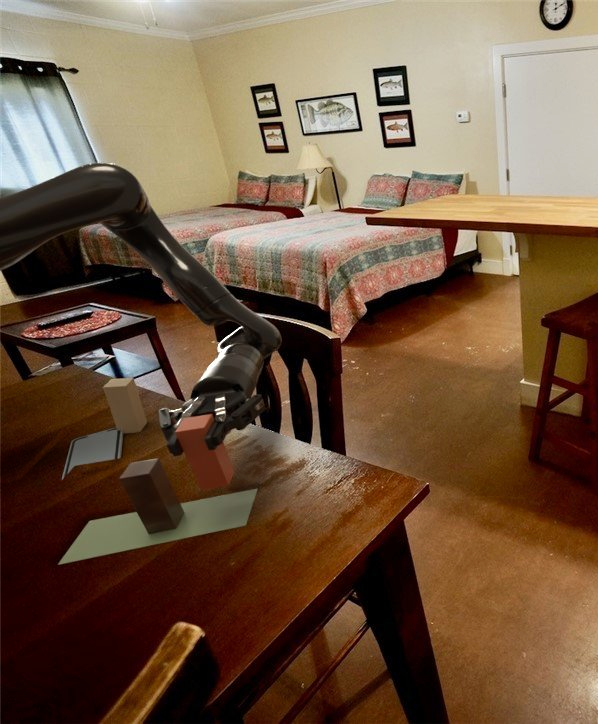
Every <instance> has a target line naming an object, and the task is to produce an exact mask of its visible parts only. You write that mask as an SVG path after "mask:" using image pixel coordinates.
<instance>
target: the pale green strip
mask: <svg viewBox="0 0 598 724" xmlns="http://www.w3.org/2000/svg"><path fill="white" fill-rule="evenodd" d="M258 490H259V488H254V489H253V488H252V489H248V490H244V491H239V492H233V493H228V494H222V495H218V496H211V497H206V498H202V499H196V500H191V501H187V502H180V504H181V506H182V508H183V510H184V514H183V516H182V518H181V520H180V522H179V524H178V526H177V528H176V529H172V530H167V531H162V532H157V533H152V534H148V533H147V531H146V529H145V527H144V525H143V523H142V521H141V519H140V518H139V516H138V514H137V512H136V511H133V512H129V513H124V514H119V515H113V516H108V517H102V518H98V519H93V520H89V521H88V523H86V525H85V526H84V527H83V529H82V531H81V532H80V533H79V535H78V536H77V538H75V540H74V541H73V542H72V544H71V545H70V547H69V548H68V549H67V551H66V553H65V554H64V555H63V556H62V558H61V559H60V561H59V562H58V564H57V565H58V566H60V565H63V564H69V563H73V562H80V561H83V560H89V559H93V558H98V557H102V556H107V555H111V554H116V553H121V552H126V551H130V550H136V549H140V548H145V547H150V546H155V545H159V544H164V543H169V542H174V541H179V540H184V539H188V538H192V537H198V536H203V535H206V534H207V535H208V534H211V533H217V532H221V531H226V530H231V529H237V528H241V527H246V526H247V524H248V522H249V517H250V514H251V512H252V509H253V505H254V502H255V499H256V496H257V494H258Z"/></svg>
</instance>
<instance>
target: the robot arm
mask: <svg viewBox="0 0 598 724" xmlns="http://www.w3.org/2000/svg"><path fill="white" fill-rule="evenodd" d="M95 224H100V225H101V226H103V227H104V228H105V229H107V230H108V231H109V232H111V233H112V234H113V235H115V236H116V237H117V238H119V239H120V240H121V241H122V242H124V243H125V244H126V245H127V246H128V247H130V249H132V250H133V251H134V252H135V253H137V255H139V256H140V258H141V259H143V260H144V261H145V263H147V264H148V265H149V266H150V268H151V269H152V270H153V271H154V273H156V274H157V276H158V277H159V278H160V279H161V280H162V281H163V283H164V284H165V286H167V287H168V288H169V290H170V291H171V292H172V293H173V295H175V296H176V297H177V298H178V300H179V301H180V302H181V303H182V304H183V305H184V306H185V307H186V308H187V309H188V310H189V311H190V312H191V313H192V314H193V315H194V316H195V317H196V318H197V320H199V321H200V322H201V323H202V324H203V325H204V326H206V327H209V328H214V327H217V326H219V325H222V324H224V323H227V322H234V323H236V324H238V325H239V326H240V327H238V328H237V329H236V330H234V331H233V332H232V333H230V334H229V335H227V336H226V337H225V338H223V339H222V340H221V341H220V342H219V344H218V345H217V348H216V357H215V358H214V360H213V362H211V363H210V364H209V365H208V366H207V367H206V368H205V370H204V372H203V373H202V374H201V376H200V378H199V379H198V380H197V382H196V383H195V384H194V386H193V388H192V390H191V393H190V398H189V400H188V401H186V402H184V403H183V404H182V406H181V408H178V409H175V410H170V409H169V408H168V407H162V408H161V409H158V410H157V415H158V422H159V426H160V429H161V431H162V434H163V436H164V438H165V440H166V443H165V444H166V447H167V449H168V451H169V454H172V456H173V457H179V456H182V455H183V453H184V451H183V449H182V447H181V444H180V442H179V440H178V438H177V436H176V434H175V431H176V430H177V428H178V427H179V425H180V424H181V422H182V421H183V419H184V418H190V417H196V416H202V415H209V414H212V415H213V418H214V420H215V423H212V425H211V427H210V428H209V430H208V432H207V434H206V435H205V442H206V445H207V447H208V449H209V450H215V449H217V447H218V445H221V444H222V443H224V441H225V439H226V437H227V435H229V434H231V432H232V430H236V431H243V430H245V429H246V428H247V427H249V425H251V423H253V421H255V420H256V419H257V418H258V417H259V416H260V415H262V413H263V412H264V411H266V406H265V403H264V399H263V397H262V394H261V393H257V394H254V392H255V390H256V388H257V385H258V381H259V377H260V375H261V373H262V370H263V368H264V360H265V359H266V358H268V357H269V356H270V355H272V354H273V353H275V352H276V351H277V350H278V349H279V348H280V347H281V346H282V342H283V338H282V335H281V332H280V330H278V328H277V327H276V326H275V325H274V324H273V323H271V322H270V321H269V320H268V319H265V318H264V317H262V316H261V315H260V314H258V313H256V312H255V311H253V310H251V309H250V308H248V307H247V306H246V305H245V304H243V303H242V302H241V301H239V300H238V299H237V298H236V297H235V296H234V294H232V293H231V292H230V291H229V289H227V287H226V286H225V285H224V284H223V283H222V282H221V281H220V280H219V279H218V277H216V276H215V275H214V274H213V273H212V272H211V271H210V270H209V269H208V268H207V267H206V266H205V265H203V263H202V262H200V260H198V258H196V257H195V256H194V255H193V254H191V252H190V251H188V250H187V249H186V248H185V247H184V246H183V245H182V244H181V243H180V242H179V241H178V240H177V239H176V238H175V237H174V235H172V233H171V232H170V231H169V229H168V228H167V227H166V225H165V224H164V223H163V222H162V220H161V219H160V217H159V216H158V214H157V212H156V210H154V208H153V206H152V205H151V204H150V201H149V197H148V195H147V193H146V191H145V189H144V187H143V185H142V183H141V182H140V181H139V179H138V178H137V177H136V176H135V175H134V174H133V173H132V172H130V171H129V170H128V169H126V168H124V167H122V166H120V165H117V164H115V163H114V164H113V163H109V162H108V163H107V162H93V163H85V164H83V165H80V166H77V167H75V168H73V169H70V170H68V171H65V172H63V173H61V174H59V175H56V176H55V177H52V178H50V179H47V180H44V181H42V182H40V183H38V184H36V185H33V186H31V187H28V188H25V189H23V190H19V191H17V192H13V193H11V194H7V195H3V196H0V272H2V271H3V270H5V269H8V268H9V267H11V266H13V265H15V264H16V263H18V262H20V261H21V260H22V259H24V258H26V257H27V256H28V255H30V254H31V253H33V252H34V251H35V250H37V249H38V248H40V247H41V246H42V245H44V244H46V243H47V242H49V241H50V240H52V239H54V238H56V237H58V236H60V235H63V234H66V233H69V232H71V231H74V230H78V229H80V228H84V227H87V226H92V225H95Z"/></svg>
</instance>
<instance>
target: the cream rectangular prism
mask: <svg viewBox="0 0 598 724" xmlns="http://www.w3.org/2000/svg"><path fill="white" fill-rule="evenodd" d="M102 389H103V392H104V394H105V395H104V396H105V397H106V401H107V404H108V406H109V409H110V413H111V415H112V419H113V422H114V424H115V428H116V427H117V430H118V431H119V430H122V431H123V435H124V434H135V433H141V432H142V430H143V429H144V428H145V426H146V425H147V423H148V421H147V416H146V414H145V409H144V407H143V403H142V401H141V398H140V393H139V391H138V388H137V383H136V381H135V378H134V377H125V378H124V377H123V378H111V379H110V380H109V381H108V382H107V383H106V384H104V386H103V387H102Z"/></svg>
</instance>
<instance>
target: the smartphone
mask: <svg viewBox="0 0 598 724" xmlns="http://www.w3.org/2000/svg"><path fill="white" fill-rule="evenodd" d="M123 440H124V434H123V431H122V430H119V431H118V430H117V427H116V426H115V427H113V428H110V429H105V430H101V431H98V432H95V433H90V434H87V435H83V436H79V437H77V438H75V439H73V440H71V442H70V446H69V450H68V454H67V458H66V461H65V465H64V469H63V473H62V477H61V480H64V478H65V477H67V475H68V474H69V473H70V472H71V471H72V470H73V469H74V468H75V466H82V465H88V464H94V463H101V462H107V461H112V460H119V459H122V451H123V442H124V441H123Z"/></svg>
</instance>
